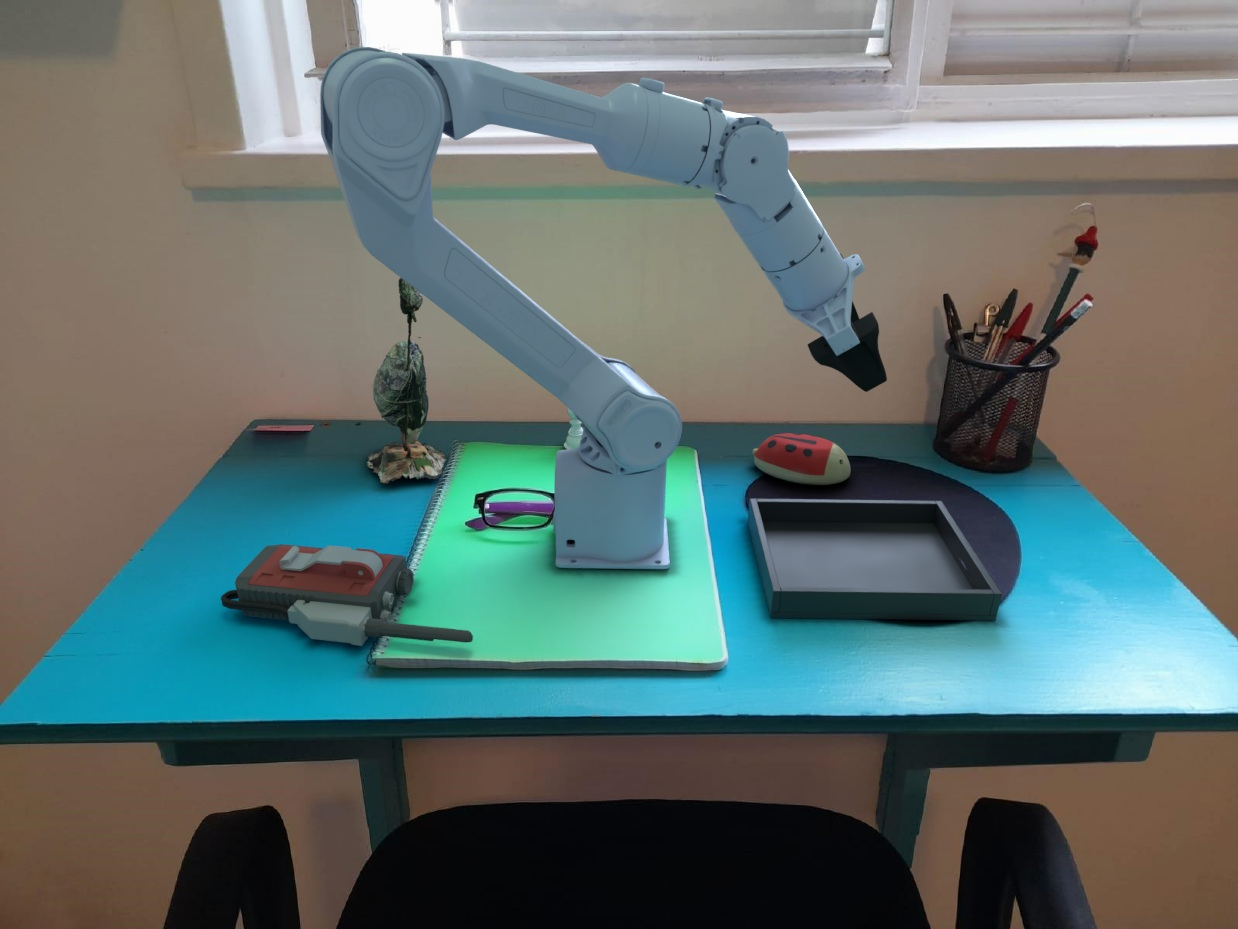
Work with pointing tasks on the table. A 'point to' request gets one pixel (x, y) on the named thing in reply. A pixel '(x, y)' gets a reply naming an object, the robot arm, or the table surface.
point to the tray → (867, 561)
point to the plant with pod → (405, 404)
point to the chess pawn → (573, 432)
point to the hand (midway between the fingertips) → (862, 358)
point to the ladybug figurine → (802, 459)
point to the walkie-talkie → (331, 593)
